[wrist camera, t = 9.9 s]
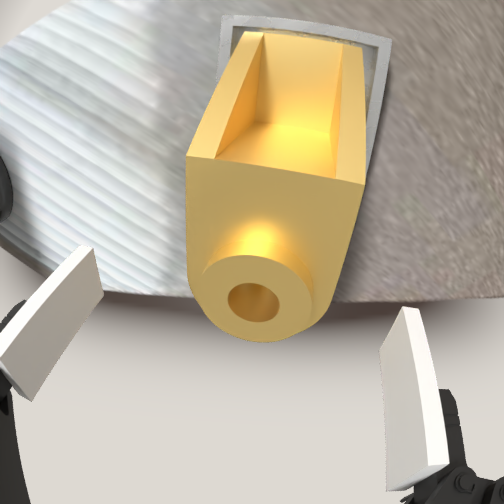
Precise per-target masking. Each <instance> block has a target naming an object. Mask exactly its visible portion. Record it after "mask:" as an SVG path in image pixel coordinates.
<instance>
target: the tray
mask: <svg viewBox="0 0 504 504" xmlns="http://www.w3.org/2000/svg"><path fill="white" fill-rule="evenodd" d="M244 31H247V32H261V33H273V34H283V35H291V36H299V37H306V38H313V39H319V40H325V41H331V42H336V43H341V44H346V45H351V46H355V47H360V48H362V52H363V66H364V83H365V110H366V172H365V178H366V174H367V170H368V166H369V162H370V157H371V153H372V148H373V144H374V139H375V135H376V130H377V125H378V120H379V115H380V110H381V105H382V100H383V94H384V88H385V83H386V77H387V71H388V65H389V58H390V51H391V44H392V39H389V38H386V37H382V36H378V35H374V34H370V33H366V32H362V31H357V30H353V29H348V28H343V27H338V26H333V25H327V24H321V23H315V22H308V21H301V20H293V19H284V18H274V17H262V16H244V15H222V23H221V33H220V43H219V55H218V66H217V79H216V87H217V85H218V83H219V81H220V78H221V76H222V74H223V72H224V70H225V68H226V66H227V64H228V62H229V60H230V58H231V56H232V54H233V52H234V50H235V48H236V47H237V45H238V43H239V41H240V39H241V37H242V35H243V33H244Z"/></svg>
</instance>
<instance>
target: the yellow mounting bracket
mask: <svg viewBox="0 0 504 504" xmlns="http://www.w3.org/2000/svg"><path fill="white" fill-rule="evenodd" d="M365 172H366V110H365V83H364V66H363V52H362V48H360V47H355V46H351V45H346V44H341V43H336V42H331V41H325V40H319V39H313V38H306V37H299V36H291V35H283V34H273V33H261V32H247V31H244V33H243V35H242V37H241V39H240V41H239V43H238V45H237V47H236V48H235V50H234V52H233V54H232V56H231V58H230V60H229V62H228V64H227V66H226V68H225V70H224V72H223V74H222V76H221V78H220V81H219V83H218V85H217V87H216V89H215V91H214V93H213V95H212V97H211V100H210V102H209V104H208V106H207V108H206V111H205V113H204V115H203V117H202V120H201V122H200V124H199V126H198V129H197V131H196V133H195V136H194V138H193V140H192V143H191V145H190V147H189V150H188V152H187V155H186V250H187V276H188V282H189V286H190V289H191V291H192V293H193V295H194V297H195V299H196V300H197V302H198V303H199V304H200V306H201V307H202V309H203V311H204V313H205V314H206V316H207V317H208V318H209V319H210V320H211V321H212V322H213V323H214V324H215V325H216V326H217V327H219V328H220V329H222V330H223V331H225V332H227V333H228V334H230V335H233V336H235V337H237V338H240V339H243V340H247V341H253V342H275V341H279V340H283V339H286V338H289V337H291V336H293V335H294V334H296V333H299V332H302V331H304V330H306V329H307V328H309V327H311V326H312V325H314V324H315V323H316V322H317V321H318V320H319V319H320V318H321V317H322V316H323V315H324V314H325V312H326V311H327V309H328V307H329V305H330V303H331V300H332V297H333V294H334V291H335V288H336V285H337V282H338V279H339V276H340V272H341V269H342V266H343V263H344V259H345V256H346V253H347V249H348V246H349V243H350V239H351V236H352V232H353V229H354V225H355V222H356V218H357V214H358V211H359V207H360V203H361V199H362V195H363V191H364V187H365Z"/></svg>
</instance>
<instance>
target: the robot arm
mask: <svg viewBox="0 0 504 504" xmlns="http://www.w3.org/2000/svg"><path fill="white" fill-rule="evenodd" d="M12 200H13V199H12V188H11V183H10V179H9V176H8V173H7V170H6V167H5V165H4V163H3V161H2V159H1V157H0V223H1V222H2V221H3V220H5V219H6V218H7V217H8V216H9V214H10V212H11V209H12ZM103 295H104V293H103V289H102V285H101V281H100V277H99V272H98V268H97V264H96V259H95V255H94V250H93V248H91V247H87V246H82V245H80V246H79V247H78V248H77V249H76V250H75V251H74V252H73V253H72V254H71V255H70V256H69V257H68V258H67V259H66V260H65V261H64V262H63V263H62V264H61V265H60V266H59V267H58V268H57V269H56V270H55V271H54V272H53V273H52V274H51V275H50V276H49V277H48V278H47V280H46V281H45V282H44V283H43V284H42V285H41V286H40V287H39V288H38V290H37V291H36V292H35V293H34V294H33V295H32V296H31V297H30V298H29V300H28V301H26V300H23V301H22V302H20V303H18V304H17V305H15V306H14V307H13V309H12V310H11V311H10V312H9V313H8V314H7V317H5V318H4V319H3V320H2V323H0V504H31V503H30V499H29V495H28V492H27V487H26V484H25V479H24V475H23V470H22V465H21V460H20V455H19V449H18V443H17V436H16V429H15V421H14V412H13V401H12V394H11V391H10V389H11V387H12V386H13V388H14V389H15V390H16V391H17V392H18V394H19V395H21V396H23V397H24V398H26V399H28V400H29V401H31V402H32V400H33V399H34V397H35V395H36V394H37V392H38V391H39V389H40V387H41V386H42V384H43V383H44V381H45V379H46V378H47V376H48V375H49V373H50V372H51V370H52V369H53V367H54V365H55V364H56V362H57V361H58V359H59V358H60V356H61V355H62V353H63V352H64V350H65V349H66V347H67V346H68V345H69V343H70V342H71V340H72V339H73V337H74V336H75V334H76V333H77V332H78V330H79V329H80V327H81V326H82V324H83V323H84V322H85V320H86V319H87V317H88V316H89V315H90V313H91V312H92V311H93V309H94V308H95V306H96V305H97V304H98V302H99V301H100V300H101V298H102V297H103ZM379 357H380V367H381V377H382V387H383V401H384V416H385V435H386V436H385V438H386V491H404V490H407V489H409V488H411V487H412V486H414V493H412V494H410V495H408V496H406V497H404V498H403V499H402V500H401V501H400V502H404V501H406V502H405V503H404V504H504V477H502V478H500V479H498V480H496V481H493V480H488V479H484V478H479V477H477V476H476V473H475V472H474V471H473V470H472V469H471V468H469V467H468V466H467V464H466V459H465V451H464V444H463V438H462V432H461V426H460V420H459V416H458V410H457V405H456V401H455V399H454V397H453V396H452V394H451V392H450V390H449V389H447V390H446V389H438V385H437V381H436V375H435V372H434V366H433V362H432V358H431V354H430V349H429V345H428V341H427V337H426V334H425V330H424V326H423V323H422V319H421V316H420V312H419V309H415V308H409V307H402V309H401V310H400V312H399V314H398V316H397V318H396V320H395V322H394V324H393V326H392V328H391V329H390V332H389V333H388V335H387V337H386V339H385V340H384V342H383V344H382V346H381V347H380V349H379Z"/></svg>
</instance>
